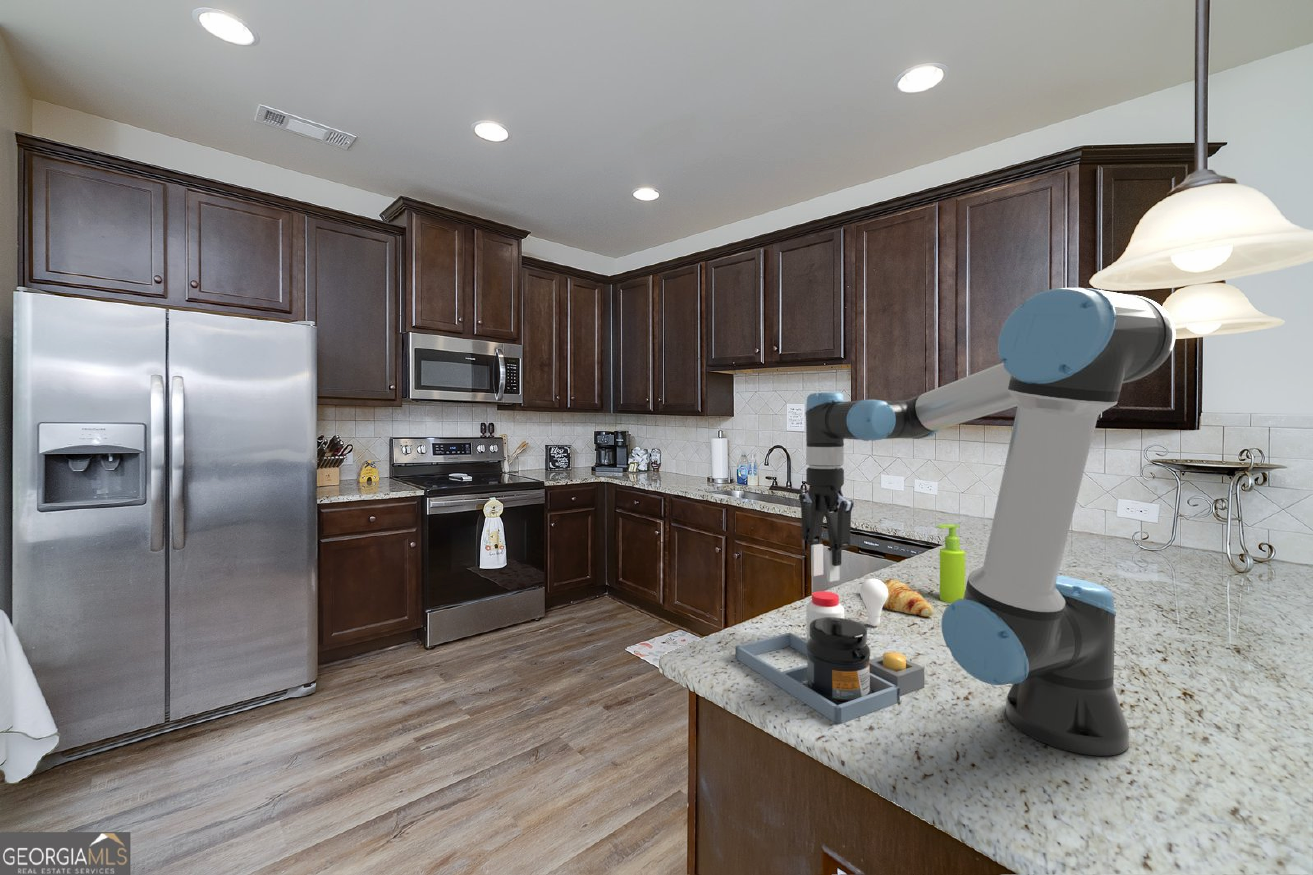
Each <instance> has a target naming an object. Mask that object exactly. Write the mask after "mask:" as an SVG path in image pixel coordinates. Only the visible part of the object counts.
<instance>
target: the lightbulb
mask: <svg viewBox="0 0 1313 875" xmlns="http://www.w3.org/2000/svg"><path fill="white" fill-rule="evenodd" d="M883 582H884V581H881V580H880V579H877V578H868V579H866V580H864V581H863V582H862V583H861V585H860V587H859V595H860V598H861V599H862V602H864V606H865V608H866V609H865V610H866V614H867V621H868V622H867V623H868V624H869V625H871V626H872V627H877V626H880V624H881V623H880V622H881V616H882V611H883V608H884V607H883V605H884V603H885V602H886V600H887V598H888V589H887V587H886V585H885V584H884V583H883Z"/></svg>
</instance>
